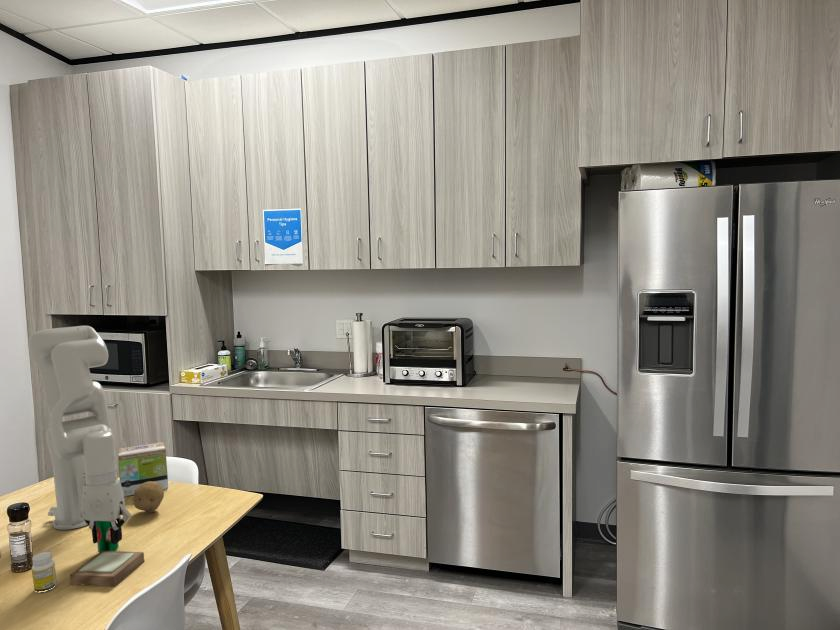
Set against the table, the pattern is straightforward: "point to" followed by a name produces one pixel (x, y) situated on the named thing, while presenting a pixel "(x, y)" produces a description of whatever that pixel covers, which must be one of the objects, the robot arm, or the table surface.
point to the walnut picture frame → (107, 568)
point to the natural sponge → (148, 496)
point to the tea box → (142, 466)
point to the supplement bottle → (43, 572)
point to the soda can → (105, 536)
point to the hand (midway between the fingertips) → (107, 540)
